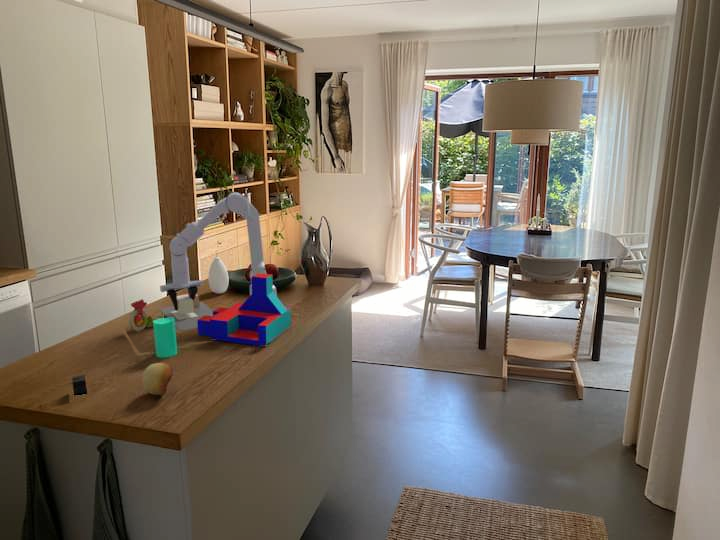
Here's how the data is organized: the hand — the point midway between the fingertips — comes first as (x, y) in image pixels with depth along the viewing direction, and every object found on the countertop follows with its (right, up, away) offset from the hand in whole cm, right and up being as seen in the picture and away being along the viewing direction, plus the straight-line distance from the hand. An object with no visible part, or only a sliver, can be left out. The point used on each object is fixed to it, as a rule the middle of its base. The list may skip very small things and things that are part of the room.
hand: (183, 308), depth 200 cm
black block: (-7, -18, -60) cm, 63 cm away
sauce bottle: (+6, +4, +29) cm, 30 cm away
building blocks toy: (+25, -7, -18) cm, 32 cm away
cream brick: (0, -1, 0) cm, 1 cm away
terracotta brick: (0, 0, +11) cm, 11 cm away
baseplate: (+3, -3, 0) cm, 4 cm away
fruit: (+13, -17, -61) cm, 65 cm away
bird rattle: (-9, -7, -14) cm, 18 cm away
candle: (+6, -11, -35) cm, 37 cm away
